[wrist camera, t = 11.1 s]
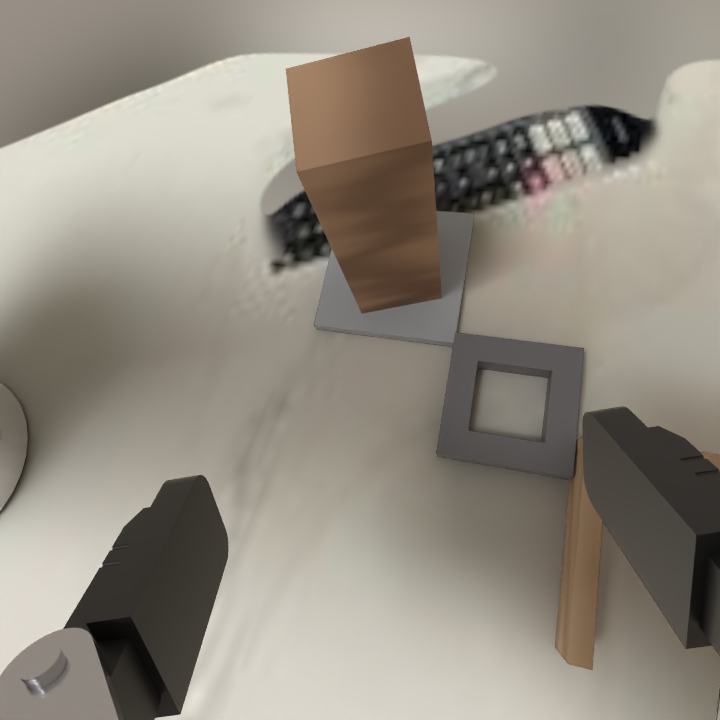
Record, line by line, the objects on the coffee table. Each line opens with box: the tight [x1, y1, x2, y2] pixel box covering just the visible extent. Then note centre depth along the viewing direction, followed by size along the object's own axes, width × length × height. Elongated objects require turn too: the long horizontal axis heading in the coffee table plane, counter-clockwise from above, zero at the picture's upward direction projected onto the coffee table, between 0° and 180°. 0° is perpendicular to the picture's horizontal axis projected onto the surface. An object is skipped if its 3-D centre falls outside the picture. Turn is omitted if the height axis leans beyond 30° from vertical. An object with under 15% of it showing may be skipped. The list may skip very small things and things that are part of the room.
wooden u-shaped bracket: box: [555, 437, 720, 670], centre depth 19 cm, size 9×8×2 cm
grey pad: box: [314, 211, 474, 347], centre depth 26 cm, size 7×7×1 cm
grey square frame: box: [436, 333, 584, 479], centre depth 23 cm, size 6×6×1 cm
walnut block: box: [286, 37, 442, 314], centre depth 21 cm, size 4×4×11 cm
